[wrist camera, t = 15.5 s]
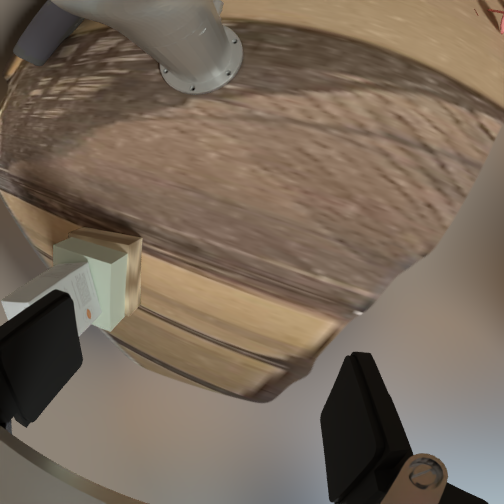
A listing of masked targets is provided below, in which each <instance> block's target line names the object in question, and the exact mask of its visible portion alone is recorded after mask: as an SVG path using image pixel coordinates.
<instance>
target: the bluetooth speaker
mask: <svg viewBox="0 0 504 504" xmlns="http://www.w3.org/2000/svg"><path fill="white" fill-rule="evenodd" d="M84 19H85V18H82V17H79V16H76V15H73V14H71V13H69V12H67V11H65V10H63V9H61V8H59V7H58V6H57V5H55V4H54V3H53V2H52V1H51V0H48V1H47V2H46V3H45V4H44V5H43V7H42V8H41V9H40V10H39V12H38V13H37V14H36V16H35V17H34V18H33V20H32V21H31V23H30V24H29V25H28V27H27V28H26V30H25V31H24V33H23V34H22V36H21V37H20V39H19V40H18V42H17V44H16V46H15V48H14V50H13V52H14V53H15V54H16V55H17V56H18V57H19V58H22V59H24V60H26V61H28V62H30V63H33V64H34V65H36V66H42V65H43V64H44V63H45V62H46V61H47V60H48V58H49V57H50V56H51V55H52V54H53V52H54V51H55V50H56V49H57V47H58V46H59V45H60V44H61V43H62V42H63V40H64V39H65V38H67V37H68V36H69V35H70V34H71V33H72V32H73V31H74V30H75V29H76V28H77V27H78V26H79V25H80V23H81V22H82V21H83V20H84Z"/></svg>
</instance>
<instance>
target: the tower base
mask: <svg viewBox="0 0 504 504" xmlns="http://www.w3.org/2000/svg"><path fill="white" fill-rule="evenodd" d="M71 237H74V238H77V239H81V240H84V241H87V242H91V243H94V244H97V245H101V246H104V247H107V248H111V249H114V250H118V251H121V252H125V253H128V258H127V271H126V288H125V315H126V316H130V315H131V314H132V313H133V312H134V311H135V310H136V309H137V308H138V307H139V305H140V304H141V255H142V237H136V236H131V235H125V234H120V233H114V232H109V231H103V230H98V229H93V228H87V227H83V228H80V229H77V230H75V231H72V232H70V233H68V238H71Z"/></svg>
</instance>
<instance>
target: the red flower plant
mask: <svg viewBox="0 0 504 504" xmlns="http://www.w3.org/2000/svg"><path fill="white" fill-rule="evenodd" d="M474 10H475V9H474ZM475 11H476V10H475ZM488 11H492V12H497V13H503V14H504V11H498V10H492V9H488ZM476 13H477V12H476ZM477 15H478V14H477ZM500 31H501V34H503V33H504V15H503V17H502V20H501V24H500Z"/></svg>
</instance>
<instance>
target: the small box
mask: <svg viewBox="0 0 504 504" xmlns="http://www.w3.org/2000/svg"><path fill="white" fill-rule="evenodd" d="M55 289H58V290H61V291H63V292H67V293H69V294H70V296H71V299H73V302H74V309H75V316H76V323H77V330H78V336H80V335H81V333H83V332H84V331H85V330H86V329H87V328H88V327H89V326H90V325H91V324H92V323H93V322H94V321H95V320H96V319H97V318H98V317H99V316H100V315H101V313H102V310H101V307H100V304H99V301H98V297H97V294H96V290H95V287H94V283H93V279H92V276H91V272H90V268H89V264H88V262H79V263H64V264H57V265H55V266H54V267H52V268H50V269H49V270H47V271H45V272H44V273H42V274H40V275H39V276H37V277H36V278H34V279H32V280H31V281H29V282H28V283H26V284H25V285H23V286H22V287H20V288H19V289H17V290H16V291H14V292H13V293H11V294H10V295H8V296H7V297H5V298H4V299H2V300H1V302H2V305H3V308H4V310H5V313H6V316H7V318H8V321H9V320H10V319H11V318H13V317H14V316H16V315H17V314H18V313H20V312H21V311H23V310H24V309H26V308H27V307H29V306H30V305H31V304H33V303H34V302H36V301H37V300H39V299H40V298H42V297H43V296H45V295H46V294H48V293H49V292H51V291H53V290H55Z"/></svg>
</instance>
